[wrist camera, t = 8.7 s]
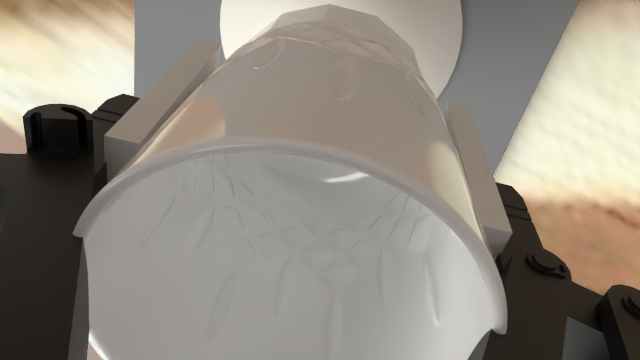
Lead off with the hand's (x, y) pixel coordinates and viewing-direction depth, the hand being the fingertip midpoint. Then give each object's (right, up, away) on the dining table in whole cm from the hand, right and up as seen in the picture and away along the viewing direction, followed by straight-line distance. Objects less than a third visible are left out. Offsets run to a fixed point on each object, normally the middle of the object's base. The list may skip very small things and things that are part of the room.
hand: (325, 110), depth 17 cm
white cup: (0, 0, +1) cm, 1 cm away
